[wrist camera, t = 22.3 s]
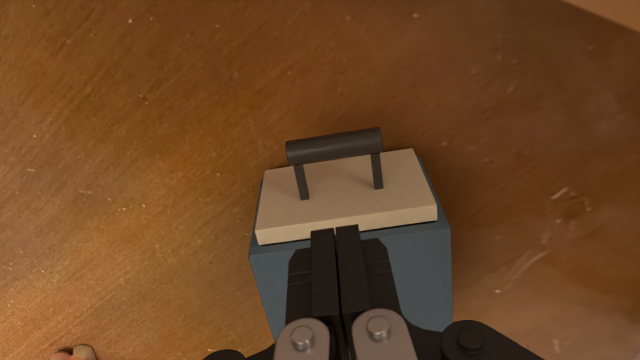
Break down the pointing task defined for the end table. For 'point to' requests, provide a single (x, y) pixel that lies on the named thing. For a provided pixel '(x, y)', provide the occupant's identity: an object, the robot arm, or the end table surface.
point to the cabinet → (406, 262)
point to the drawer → (342, 188)
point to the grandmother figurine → (75, 354)
